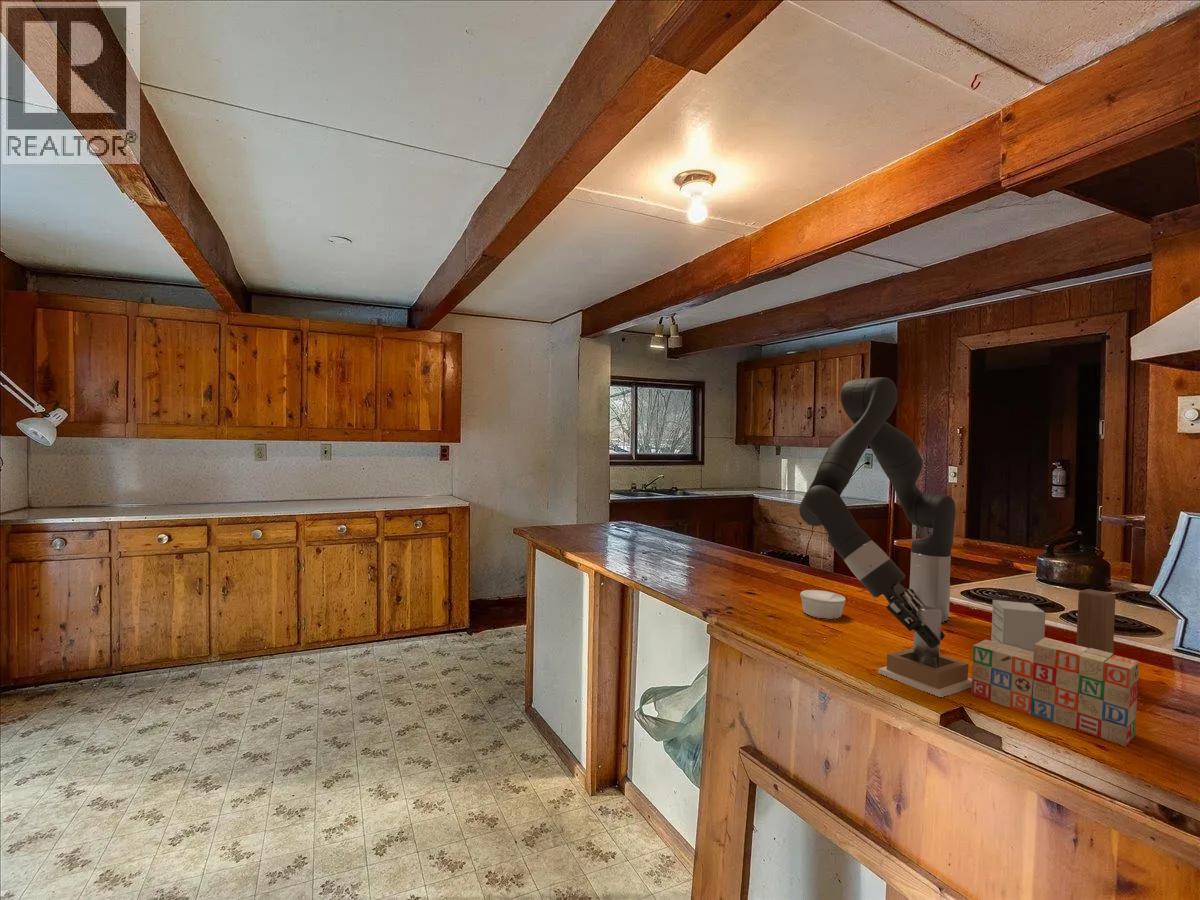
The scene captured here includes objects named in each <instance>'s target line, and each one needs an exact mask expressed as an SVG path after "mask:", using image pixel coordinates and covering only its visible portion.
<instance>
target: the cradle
mask: <svg viewBox="0 0 1200 900" xmlns="http://www.w3.org/2000/svg"><path fill="white" fill-rule="evenodd" d="M878 673H879V675H881V674H882V676H883V675H884V676H883V677H886V676H887V678H889V679H891V678H892V680H894V681H896V680H897V682H900V683H901V684H903V685H907V686H909V687H911V688H913V689H917V690H919V691H922V692H924V691H925V693H927V692H928V693H927V694H929V693H930V695H932V694H933V695H932V696H934V695H935V697H937V696H938V698H939V697H942V698H945V697H947V695H948V696H951V695H954V694H956V693H959V692H963V691H965V690H968V689H971V687H972V678H970V677H969V663H968V662H964V661H960V660H958V659H955V658H952V657H949V656H945V655H943V654H940V655H939V667H938V668H933V667H930V666H927V665H924V664H921V663H919V662H916V661H913V647H911V648H906V649H902V650H898V651H895V652H891V653H887V654H886V666H883V667H880V668H878ZM944 696H945V697H944Z"/></svg>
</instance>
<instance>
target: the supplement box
mask: <svg viewBox="0 0 1200 900" xmlns="http://www.w3.org/2000/svg"><path fill="white" fill-rule="evenodd" d="M991 612H992V616H991V637H990V638H991V640H990V641H994V642H998V643H1001V644H1005V645H1009V646H1013V647H1017V648H1021V649H1024V650H1028V651H1031V652H1034V644H1035V643H1037V642H1039V641H1040V640H1042V639H1043V638H1045V634H1046V633H1045V631H1046V612H1045V611H1044V610H1043V609H1041V608H1040V607H1037V606H1036V605H1034V604H1033V603H1031V602H1030V603H1029V602H1020V601H1019V602H1018V601H1010V600H1009V601H1008V600H1000V599H999V600H998V599H992V611H991Z"/></svg>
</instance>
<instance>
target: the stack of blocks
mask: <svg viewBox="0 0 1200 900" xmlns="http://www.w3.org/2000/svg"><path fill="white" fill-rule="evenodd" d="M971 659H972V666H971V667H972V669H971V679H972V687H971V688H970V689H971V690H970V694H971V696H975V697H978V698H981V699H982V700H983V699H985V700H988V701H990V702H992V703H995V704H997V705H1000V706H1003V707H1006V708H1010V709H1012V710H1015V711H1019V712H1020V713H1021V712H1022V713H1023V714H1024V713H1025V714H1028V715H1031V716H1033V717H1037V718H1040V719H1043V720H1046V721H1048V722H1052V723H1054V724H1058V725H1061V726H1064V727H1067V728H1069V727H1070V729H1072V728H1074V729H1073V730H1075V729H1077V730H1076V731H1078V730H1080V731H1079V732H1081V731H1083V732H1086V733H1089V734H1092V735H1095V736H1098V737H1101V738H1104V739H1106V740H1105V741H1107V740H1110V741H1113V742H1115V743H1114V744H1116V743H1119V744H1121V745H1120V746H1122V745H1124V746H1123V747H1125V746H1126V747H1127V746H1128V745H1129V744H1130V743H1131V742H1130V741H1132V740H1133V739H1134V738H1135V736H1136V723H1137V711H1138V710H1137V707H1138V698H1139V697H1138V694H1139V683H1140V681H1139V674H1140V673H1139V671H1140V670H1139V669H1140V668H1139V667H1140V661H1139V660H1137V659H1133V658H1129V657H1125V656H1124V657H1123V656H1122V655H1121V656H1120V655H1118V654H1117V655H1116V654H1114V655H1113V653H1109V652H1105V651H1101V650H1097V649H1093V648H1086V647H1082V646H1078V645H1076V644H1073V643H1069V642H1065V641H1061V640H1056V639H1053V638H1050V637H1049V638H1048V637H1044V638H1043V639H1042V640H1040V641H1039V642H1037V643H1035V644H1034V652H1031V651H1028V650H1024V649H1021V648H1017V647H1013V646H1009V645H1005V644H1001V643H998V642H994V641H991V640H989V639H984V640H982V641H979V642H977V643H975V644H973V646H972V658H971ZM1083 732H1082V733H1083ZM1086 733H1085V734H1086ZM1089 734H1088V735H1089ZM1092 735H1091V736H1092ZM1095 736H1094V737H1095ZM1098 737H1097V738H1098ZM1101 738H1100V739H1101ZM1104 739H1103V740H1104ZM1110 741H1109V742H1110ZM1113 742H1112V743H1113ZM1119 744H1118V745H1119Z"/></svg>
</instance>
